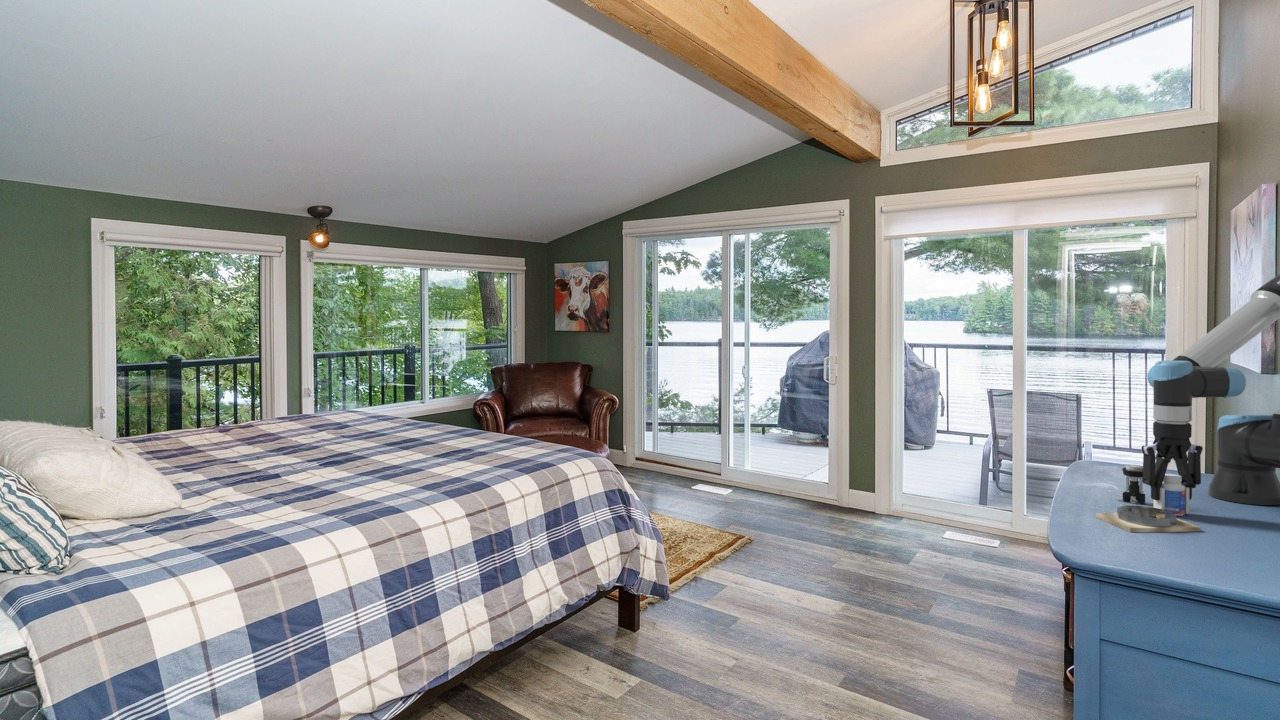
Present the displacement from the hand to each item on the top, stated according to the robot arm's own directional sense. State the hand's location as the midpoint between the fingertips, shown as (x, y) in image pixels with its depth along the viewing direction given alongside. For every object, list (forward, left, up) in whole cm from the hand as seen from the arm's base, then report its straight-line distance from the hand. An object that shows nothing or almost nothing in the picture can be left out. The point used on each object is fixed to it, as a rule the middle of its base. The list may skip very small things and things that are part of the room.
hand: (1171, 512), depth 164 cm
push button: (+2, -11, -1) cm, 11 cm away
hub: (+12, +8, 0) cm, 15 cm away
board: (+12, +8, 0) cm, 15 cm away
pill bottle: (0, 0, 0) cm, 0 cm away
